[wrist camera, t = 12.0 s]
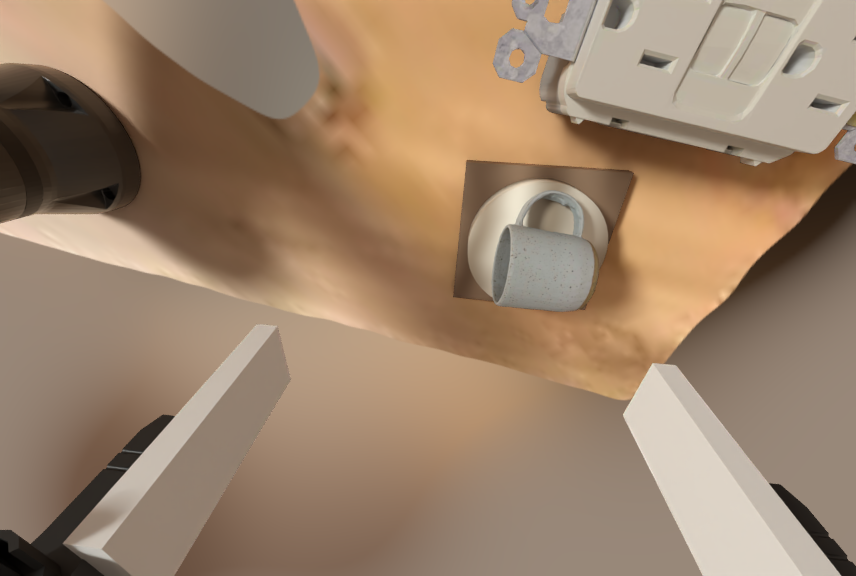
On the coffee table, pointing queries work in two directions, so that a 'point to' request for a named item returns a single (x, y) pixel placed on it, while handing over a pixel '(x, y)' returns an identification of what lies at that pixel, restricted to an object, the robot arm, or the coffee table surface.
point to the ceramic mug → (545, 263)
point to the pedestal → (529, 212)
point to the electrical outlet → (699, 71)
